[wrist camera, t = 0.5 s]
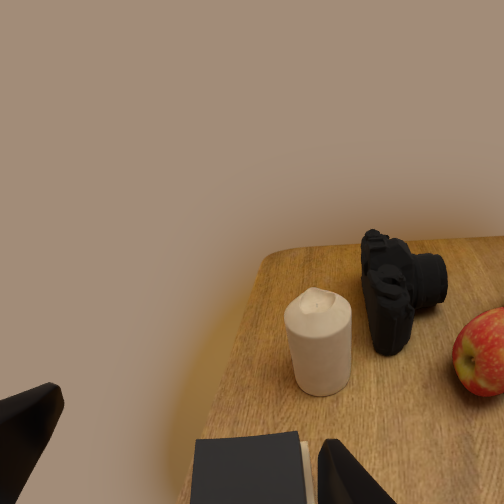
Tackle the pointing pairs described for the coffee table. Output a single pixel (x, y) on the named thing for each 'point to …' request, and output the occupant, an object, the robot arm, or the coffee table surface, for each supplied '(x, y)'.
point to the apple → (481, 354)
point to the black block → (249, 470)
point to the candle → (320, 341)
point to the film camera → (397, 288)
